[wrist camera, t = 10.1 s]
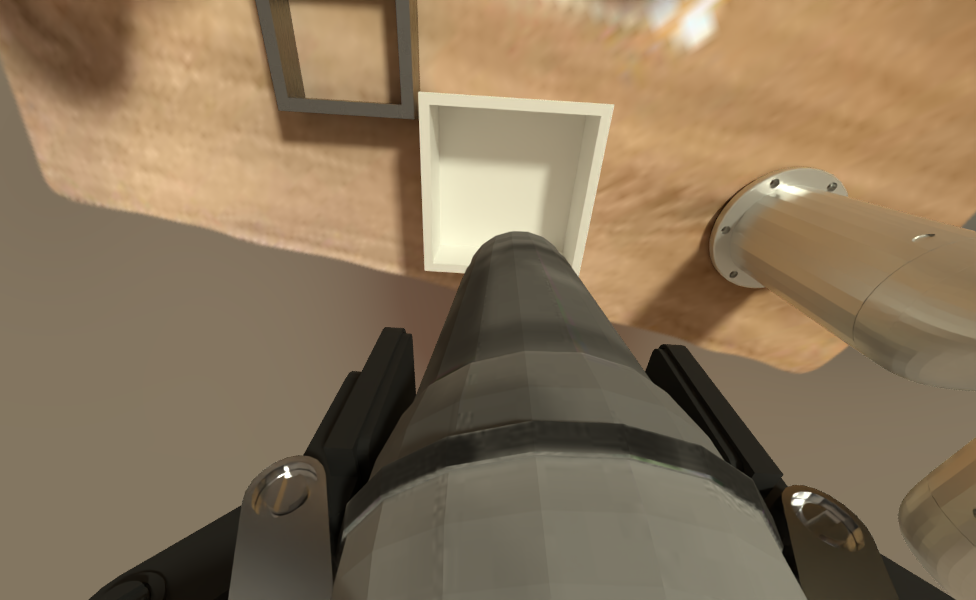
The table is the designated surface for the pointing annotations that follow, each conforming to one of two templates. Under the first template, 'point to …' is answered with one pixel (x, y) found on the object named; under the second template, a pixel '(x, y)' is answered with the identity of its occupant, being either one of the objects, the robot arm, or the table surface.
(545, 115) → the bin
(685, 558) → the beverage cup
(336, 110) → the holder
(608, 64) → the table surface
